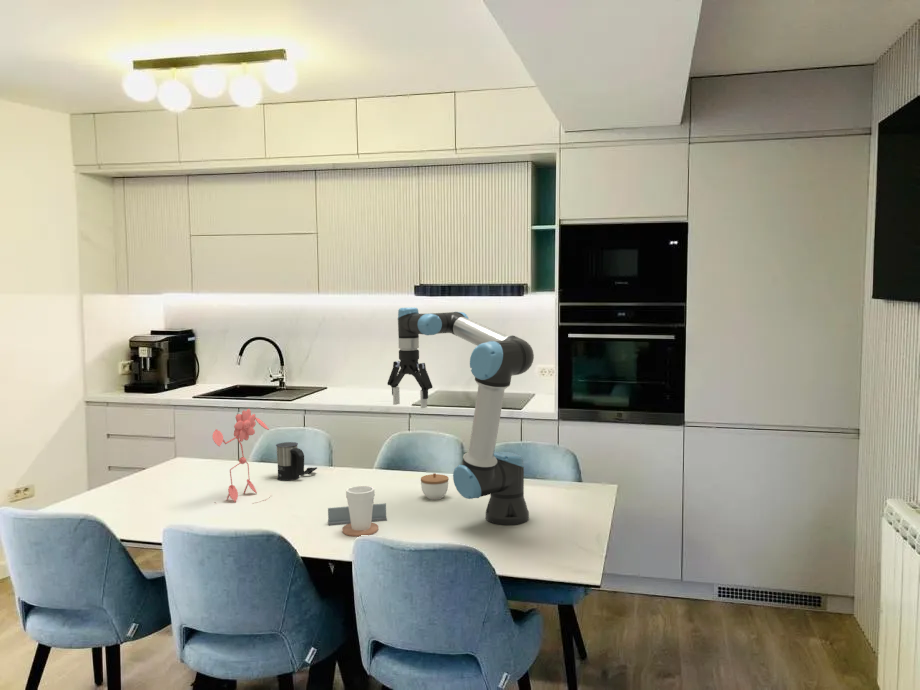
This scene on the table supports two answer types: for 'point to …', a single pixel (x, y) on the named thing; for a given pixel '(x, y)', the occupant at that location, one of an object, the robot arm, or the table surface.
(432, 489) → the lidded jar
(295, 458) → the milk frother
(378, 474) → the table surface
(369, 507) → the foam cup
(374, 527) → the terracotta coaster
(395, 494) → the table surface
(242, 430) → the figurine
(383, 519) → the low wall
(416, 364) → the robot arm
